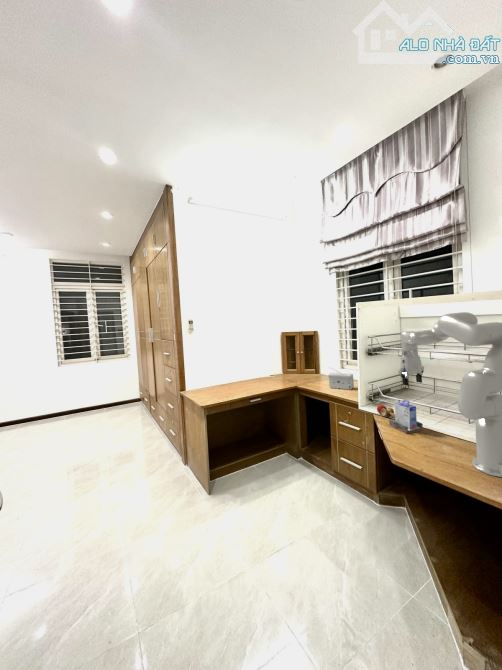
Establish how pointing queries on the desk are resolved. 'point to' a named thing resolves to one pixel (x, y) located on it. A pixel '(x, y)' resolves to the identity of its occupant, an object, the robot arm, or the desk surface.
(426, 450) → the desk surface
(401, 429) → the jig
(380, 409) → the kendama
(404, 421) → the ink cartridge box
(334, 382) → the stereo radio cassette player
